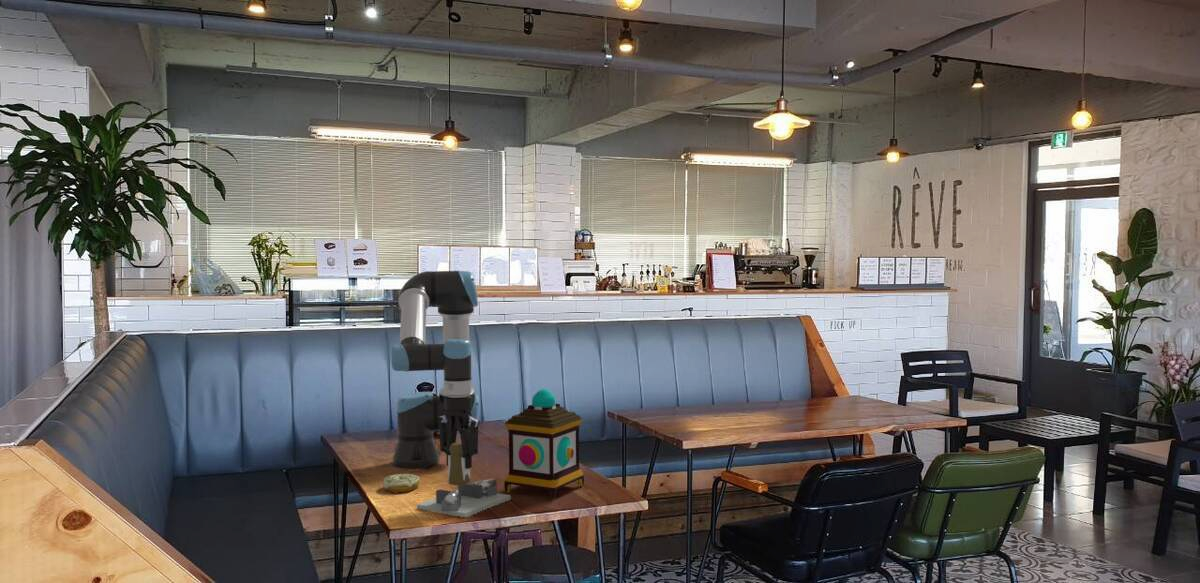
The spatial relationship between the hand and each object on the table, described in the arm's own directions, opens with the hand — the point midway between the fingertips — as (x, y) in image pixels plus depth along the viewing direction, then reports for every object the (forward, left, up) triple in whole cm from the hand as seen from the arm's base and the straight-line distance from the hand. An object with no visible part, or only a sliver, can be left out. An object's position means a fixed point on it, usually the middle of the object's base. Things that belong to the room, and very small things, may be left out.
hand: (459, 478), depth 246 cm
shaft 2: (+3, +8, -6) cm, 10 cm away
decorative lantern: (+12, +25, -8) cm, 28 cm away
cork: (0, 0, -1) cm, 1 cm away
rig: (+1, +1, -7) cm, 7 cm away
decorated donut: (-26, +5, -8) cm, 28 cm away
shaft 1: (+3, -7, -6) cm, 10 cm away
